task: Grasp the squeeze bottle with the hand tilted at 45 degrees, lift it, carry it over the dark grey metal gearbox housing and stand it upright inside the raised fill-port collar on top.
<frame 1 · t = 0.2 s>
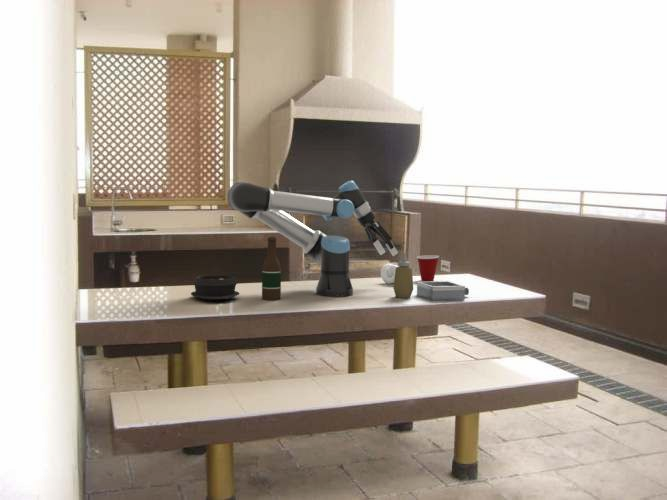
hand: (389, 254, 296), 15 cm above the table, tool tilted 35°, fingers open, 13 cm apart
squeeze bottle: (403, 297, 272), on the table
beer bottle: (271, 299, 262), on the table
gearbox housing: (440, 297, 274), on the table
white plush toy: (392, 283, 313), on the table
plastic cup: (426, 281, 324), on the table
casserole: (215, 299, 261), on the table
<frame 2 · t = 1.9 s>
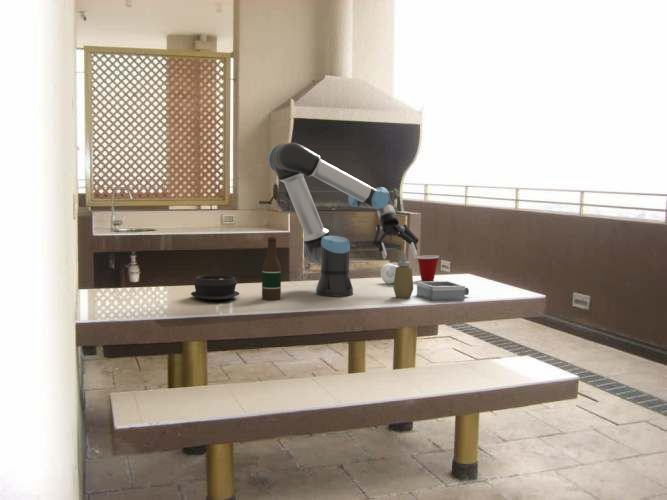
hand: (400, 256, 279), 16 cm above the table, tool tilted 45°, fingers open, 13 cm apart
nothing on the table moved.
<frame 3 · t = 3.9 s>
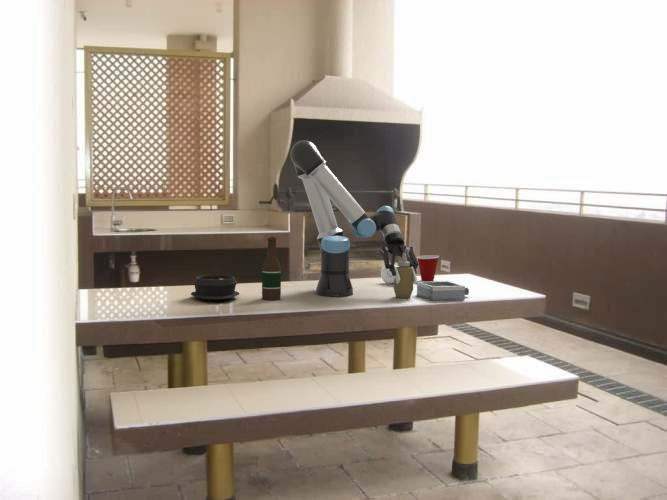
hand: (407, 281, 268), 7 cm above the table, tool tilted 45°, fingers closed on squeeze bottle, 6 cm apart
squeeze bottle: (403, 297, 272), on the table, touching gripper
everything else where it was.
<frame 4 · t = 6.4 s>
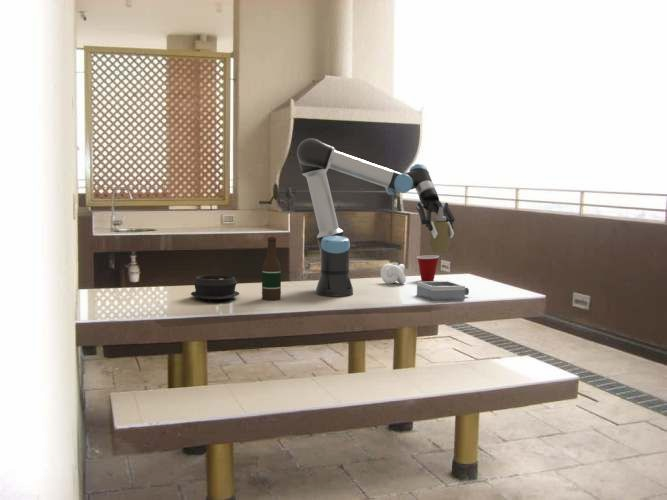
hand: (444, 235, 268), 25 cm above the table, tool tilted 45°, fingers closed on squeeze bottle, 6 cm apart
squeeze bottle: (439, 252, 272), point 18 cm above the table, touching gripper
everything else where it was.
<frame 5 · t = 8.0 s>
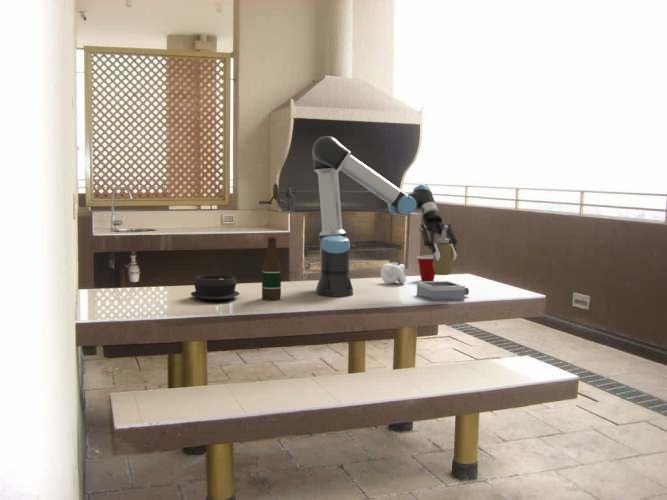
hand: (446, 258, 269), 16 cm above the table, tool tilted 45°, fingers closed on squeeze bottle, 6 cm apart
squeeze bottle: (442, 274, 273), point 9 cm above the table, touching gripper
everything else where it was.
when the fingers open (12 cm above the table, at t = 9.1 s): squeeze bottle drops 1 cm, resting on gearbox housing.
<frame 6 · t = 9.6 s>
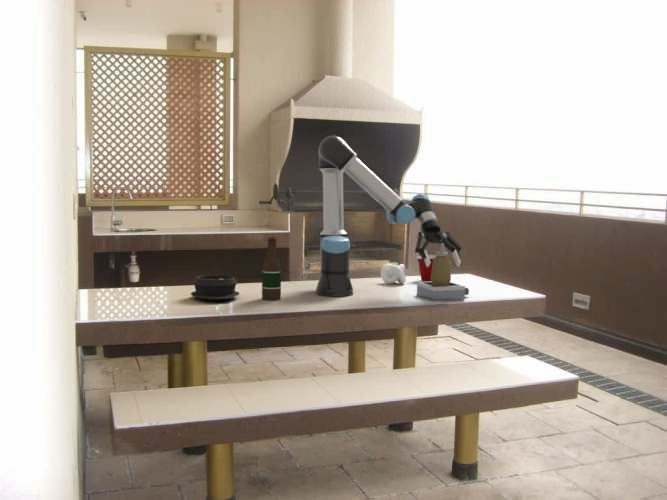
hand: (443, 264, 270), 14 cm above the table, tool tilted 45°, fingers open, 13 cm apart
squeeze bottle: (440, 287, 273), point 4 cm above the table, touching gearbox housing
everything else where it was.
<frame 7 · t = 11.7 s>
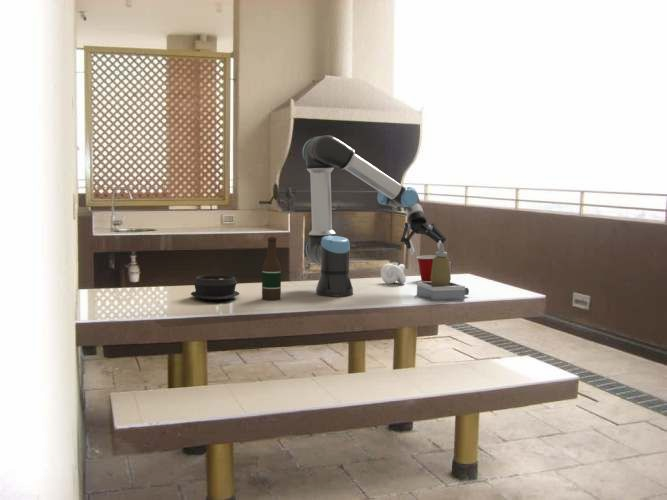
hand: (428, 254, 283), 16 cm above the table, tool tilted 45°, fingers open, 13 cm apart
nothing on the table moved.
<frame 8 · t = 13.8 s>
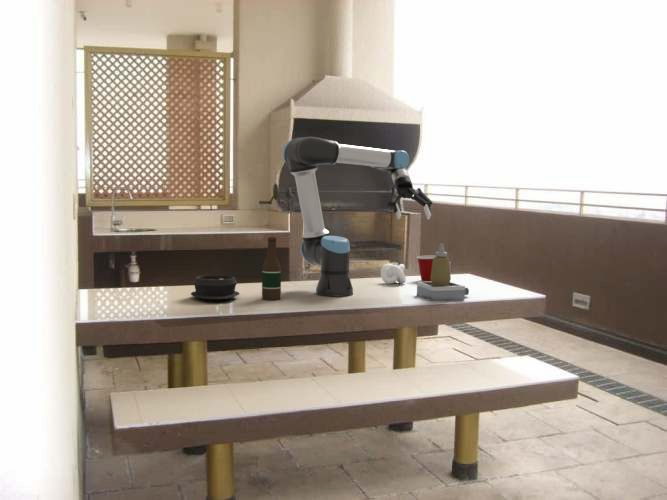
hand: (414, 217, 285), 32 cm above the table, tool tilted 45°, fingers open, 13 cm apart
nothing on the table moved.
at the end: squeeze bottle inside the target area on the gearbox housing (0.1 cm from its centre), point 3.8 cm above the gearbox housing's base; squeeze bottle tilted 0°; the gripper is holding nothing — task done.
